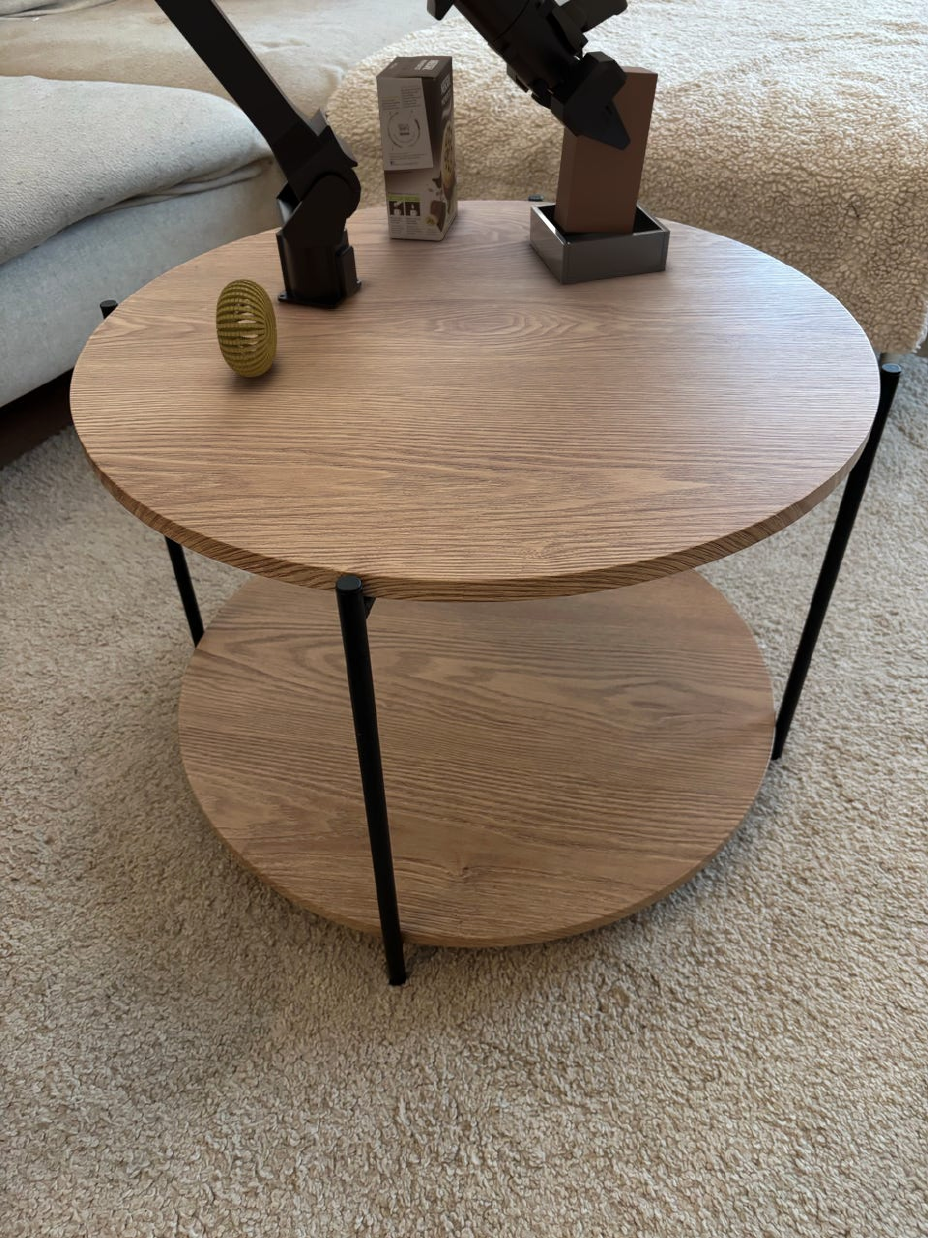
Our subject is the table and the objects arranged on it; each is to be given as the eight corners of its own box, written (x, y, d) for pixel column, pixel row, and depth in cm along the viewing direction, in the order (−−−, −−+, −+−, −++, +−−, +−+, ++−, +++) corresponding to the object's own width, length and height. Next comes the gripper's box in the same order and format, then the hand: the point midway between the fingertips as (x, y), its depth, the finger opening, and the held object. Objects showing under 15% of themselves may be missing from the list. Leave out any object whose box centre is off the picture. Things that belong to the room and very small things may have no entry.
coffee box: (443, 241, 100) (435, 76, 89) (387, 239, 101) (372, 75, 90) (460, 211, 106) (454, 53, 95) (407, 209, 108) (395, 53, 96)
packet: (565, 231, 90) (585, 69, 82) (553, 219, 94) (571, 62, 86) (632, 233, 92) (658, 73, 83) (617, 220, 95) (641, 66, 87)
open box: (561, 284, 91) (563, 244, 88) (529, 243, 99) (530, 205, 96) (665, 270, 93) (670, 230, 90) (625, 230, 101) (629, 193, 98)
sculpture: (243, 350, 83) (224, 263, 78) (286, 349, 83) (270, 262, 77) (224, 394, 77) (202, 304, 72) (270, 393, 77) (252, 303, 72)
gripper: (614, -59, 69) (722, 90, 79) (540, -87, 82) (641, 43, 92) (514, 68, 73) (628, 195, 83) (459, 22, 87) (563, 136, 96)
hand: (616, 137), depth 88 cm, fingers closed on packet, 5 cm apart
